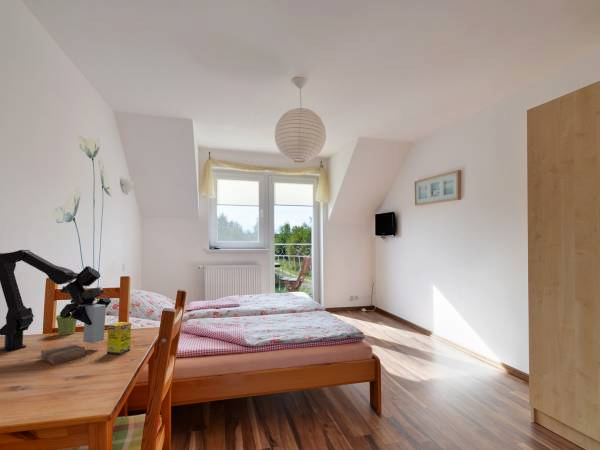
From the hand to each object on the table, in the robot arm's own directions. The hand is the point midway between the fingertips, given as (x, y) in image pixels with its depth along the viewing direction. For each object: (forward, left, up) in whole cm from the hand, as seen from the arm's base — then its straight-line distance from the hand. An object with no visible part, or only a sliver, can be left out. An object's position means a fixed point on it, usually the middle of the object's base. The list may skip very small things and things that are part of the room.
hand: (97, 323), depth 133 cm
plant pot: (-36, +7, -11) cm, 39 cm away
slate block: (-1, 0, -7) cm, 7 cm away
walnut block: (-1, -11, -10) cm, 15 cm away
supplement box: (+11, +3, -11) cm, 15 cm away
